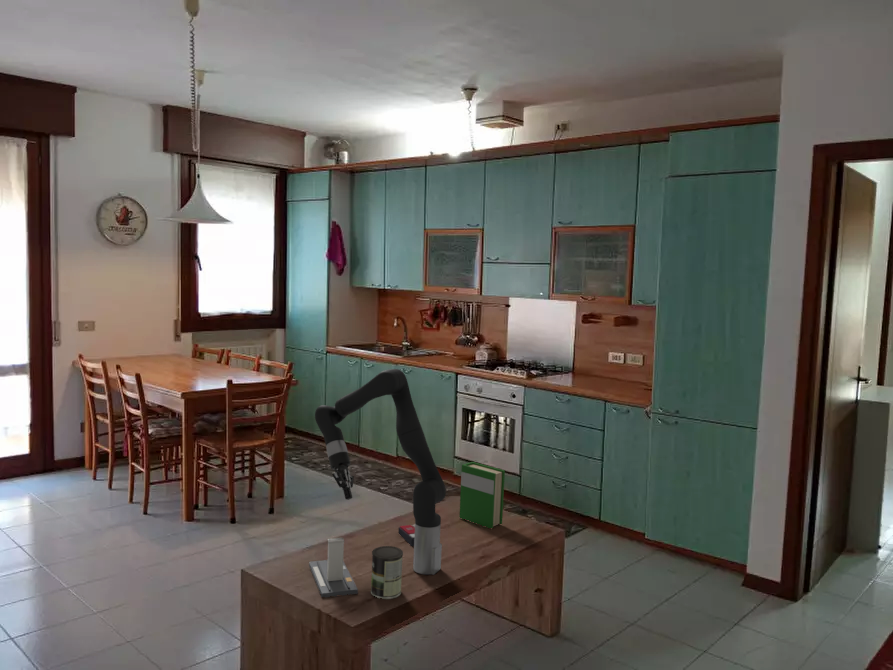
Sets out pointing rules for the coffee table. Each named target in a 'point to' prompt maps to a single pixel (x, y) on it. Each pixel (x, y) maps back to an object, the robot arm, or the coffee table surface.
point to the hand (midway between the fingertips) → (349, 498)
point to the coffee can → (386, 572)
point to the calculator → (408, 533)
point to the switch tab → (335, 559)
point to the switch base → (332, 587)
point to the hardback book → (482, 494)
